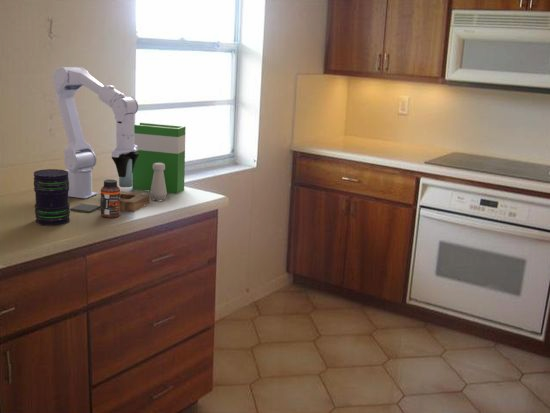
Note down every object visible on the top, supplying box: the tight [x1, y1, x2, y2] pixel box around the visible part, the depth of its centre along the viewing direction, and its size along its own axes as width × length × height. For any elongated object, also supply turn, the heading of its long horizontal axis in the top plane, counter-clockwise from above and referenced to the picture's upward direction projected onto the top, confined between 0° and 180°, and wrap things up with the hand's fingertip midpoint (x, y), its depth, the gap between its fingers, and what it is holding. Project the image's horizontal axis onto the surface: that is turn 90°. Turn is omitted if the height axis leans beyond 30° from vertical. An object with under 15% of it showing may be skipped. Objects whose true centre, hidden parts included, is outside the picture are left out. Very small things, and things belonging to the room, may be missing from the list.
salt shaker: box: [149, 163, 168, 202], centre depth 215 cm, size 6×6×13 cm
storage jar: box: [33, 168, 71, 227], centre depth 183 cm, size 10×10×15 cm
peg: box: [118, 158, 132, 188], centre depth 204 cm, size 4×4×9 cm
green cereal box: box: [131, 122, 187, 195], centre depth 228 cm, size 18×7×24 cm, turn 78°
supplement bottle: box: [100, 179, 121, 219], centre depth 193 cm, size 6×6×11 cm
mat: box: [70, 203, 101, 214], centre depth 200 cm, size 7×7×1 cm
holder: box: [99, 190, 151, 213], centre depth 207 cm, size 12×12×3 cm
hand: (125, 175), depth 204 cm, fingers closed on peg, 4 cm apart
